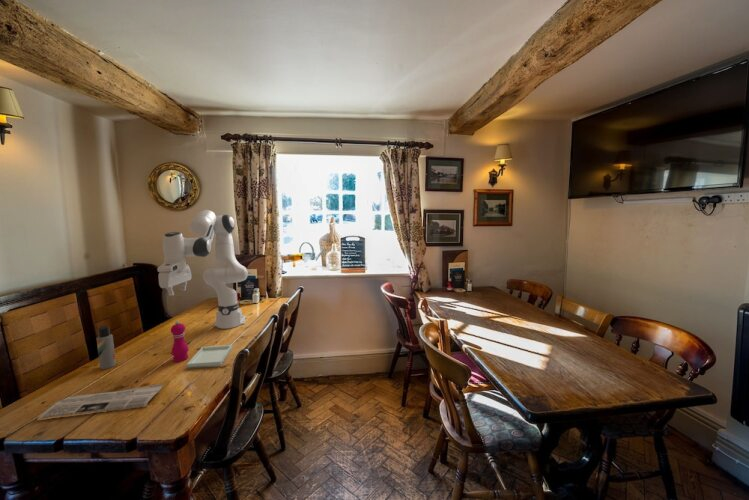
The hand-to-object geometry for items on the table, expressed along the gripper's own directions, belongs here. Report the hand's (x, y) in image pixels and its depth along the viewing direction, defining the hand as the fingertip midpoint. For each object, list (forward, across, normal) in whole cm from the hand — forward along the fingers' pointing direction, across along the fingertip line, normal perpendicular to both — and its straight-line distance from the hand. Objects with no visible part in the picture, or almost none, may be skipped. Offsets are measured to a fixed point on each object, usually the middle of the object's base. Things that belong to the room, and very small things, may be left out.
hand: (177, 292), depth 145 cm
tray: (+34, +1, +14) cm, 37 cm away
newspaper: (+36, +34, -9) cm, 50 cm away
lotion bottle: (+34, +6, -31) cm, 47 cm away
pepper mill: (+34, +1, -1) cm, 34 cm away
